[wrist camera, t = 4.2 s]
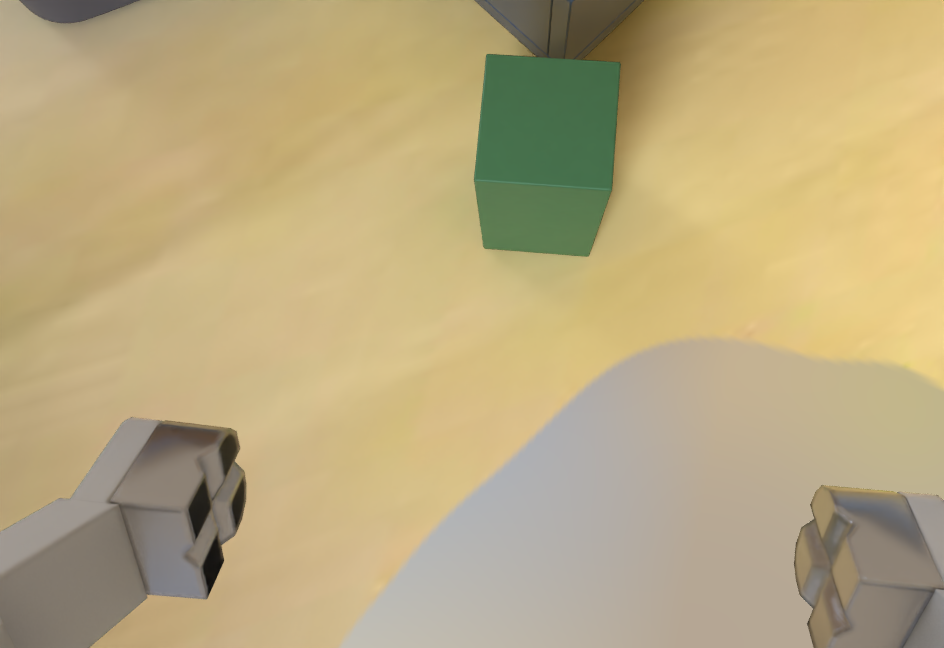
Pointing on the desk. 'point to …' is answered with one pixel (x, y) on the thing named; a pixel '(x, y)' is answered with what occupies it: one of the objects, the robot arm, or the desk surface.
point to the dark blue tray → (560, 23)
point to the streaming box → (72, 8)
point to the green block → (545, 152)
